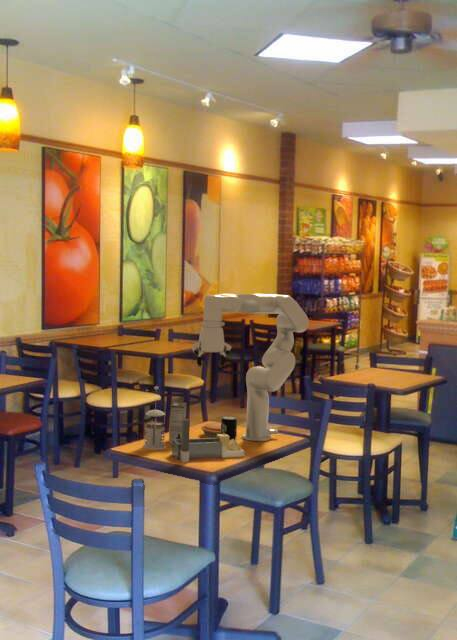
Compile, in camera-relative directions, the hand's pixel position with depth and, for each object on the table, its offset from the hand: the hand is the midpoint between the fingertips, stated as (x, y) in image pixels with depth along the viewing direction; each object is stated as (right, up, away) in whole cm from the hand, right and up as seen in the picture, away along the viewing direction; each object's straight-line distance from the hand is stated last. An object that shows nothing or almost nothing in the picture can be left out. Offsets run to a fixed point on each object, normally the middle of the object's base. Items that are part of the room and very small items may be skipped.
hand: (210, 365), depth 320 cm
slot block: (-5, -34, -17) cm, 39 cm away
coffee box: (-14, -33, +6) cm, 36 cm away
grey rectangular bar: (-9, -35, -26) cm, 44 cm away
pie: (+3, -32, +21) cm, 39 cm away
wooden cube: (+8, -30, -13) cm, 33 cm away
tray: (+7, -35, -12) cm, 37 cm away
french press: (-23, -33, -5) cm, 41 cm away
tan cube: (+5, -31, -14) cm, 34 cm away
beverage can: (+7, -34, +2) cm, 35 cm away
